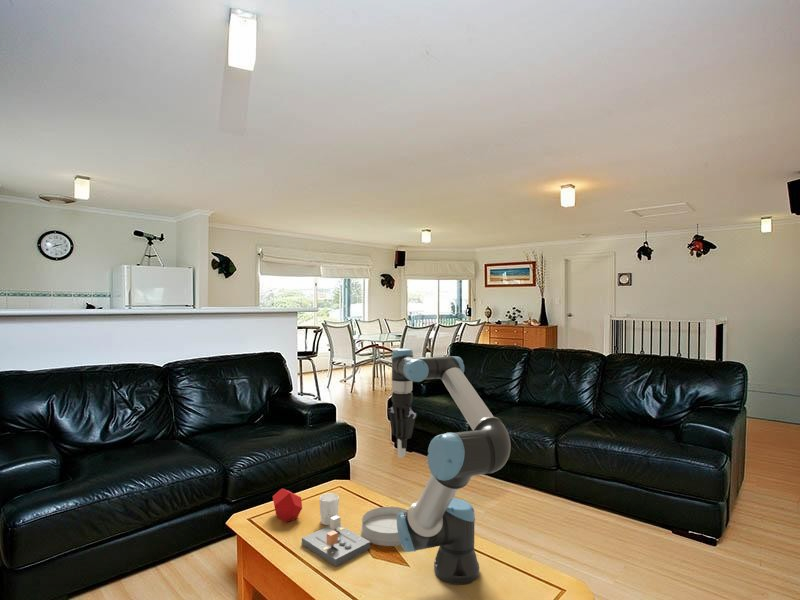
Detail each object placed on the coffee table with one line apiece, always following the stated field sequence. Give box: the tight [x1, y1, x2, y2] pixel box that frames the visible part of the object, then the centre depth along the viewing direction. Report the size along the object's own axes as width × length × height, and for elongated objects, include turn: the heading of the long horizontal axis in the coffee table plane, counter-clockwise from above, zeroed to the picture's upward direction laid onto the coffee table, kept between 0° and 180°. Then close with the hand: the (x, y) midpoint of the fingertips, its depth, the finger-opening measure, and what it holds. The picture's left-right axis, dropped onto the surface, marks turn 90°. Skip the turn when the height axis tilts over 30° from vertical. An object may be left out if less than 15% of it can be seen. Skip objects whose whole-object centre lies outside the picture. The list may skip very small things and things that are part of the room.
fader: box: [327, 530, 338, 547], centre depth 166 cm, size 2×3×5 cm
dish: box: [360, 506, 409, 547], centre depth 182 cm, size 22×22×5 cm
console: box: [301, 524, 371, 567], centre depth 171 cm, size 20×16×3 cm
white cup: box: [319, 492, 340, 526], centre depth 190 cm, size 8×8×10 cm
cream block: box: [329, 515, 341, 531], centre depth 177 cm, size 2×3×5 cm
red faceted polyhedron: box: [272, 488, 303, 523], centre depth 193 cm, size 12×12×15 cm
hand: (401, 456), depth 168 cm, fingers closed
